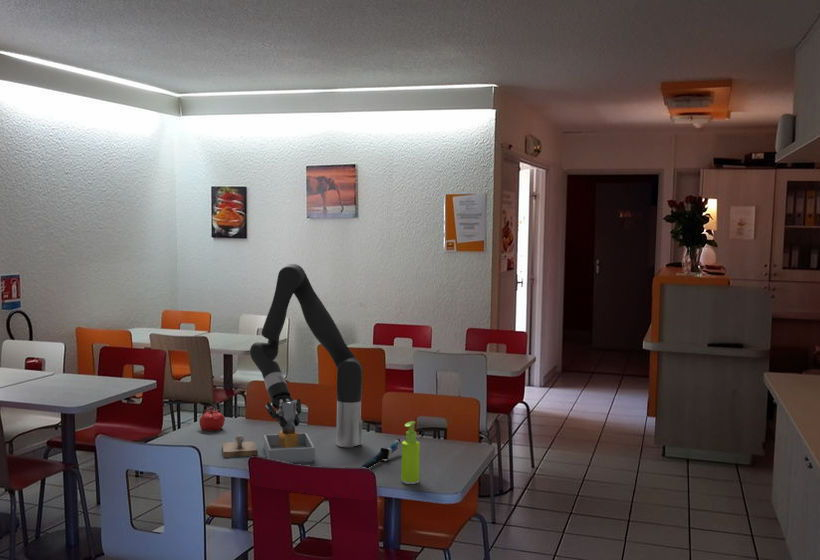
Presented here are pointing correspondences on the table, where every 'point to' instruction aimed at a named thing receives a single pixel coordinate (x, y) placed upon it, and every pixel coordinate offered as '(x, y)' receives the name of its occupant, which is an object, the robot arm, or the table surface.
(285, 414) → the strut
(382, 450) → the knife
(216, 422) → the red tomato
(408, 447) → the soap dispenser
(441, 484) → the table surface
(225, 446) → the stud block
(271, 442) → the bin
